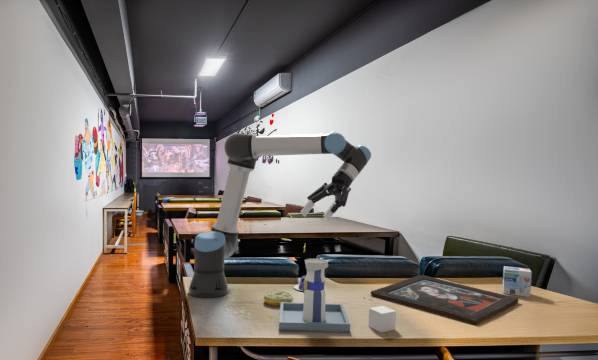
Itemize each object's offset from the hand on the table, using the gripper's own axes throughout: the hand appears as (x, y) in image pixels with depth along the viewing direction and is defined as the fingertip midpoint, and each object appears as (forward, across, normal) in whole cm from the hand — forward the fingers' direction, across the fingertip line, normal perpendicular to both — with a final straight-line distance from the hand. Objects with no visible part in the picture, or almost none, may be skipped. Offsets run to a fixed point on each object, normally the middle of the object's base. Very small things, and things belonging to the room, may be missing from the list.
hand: (313, 216), depth 158 cm
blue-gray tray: (+31, -15, -15) cm, 38 cm away
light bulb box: (-37, -36, -84) cm, 98 cm away
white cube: (+21, -32, -26) cm, 46 cm away
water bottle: (+31, -15, -15) cm, 37 cm away
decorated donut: (+31, +7, -16) cm, 35 cm away
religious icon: (-11, -23, -59) cm, 64 cm away
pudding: (+16, +16, -32) cm, 38 cm away
